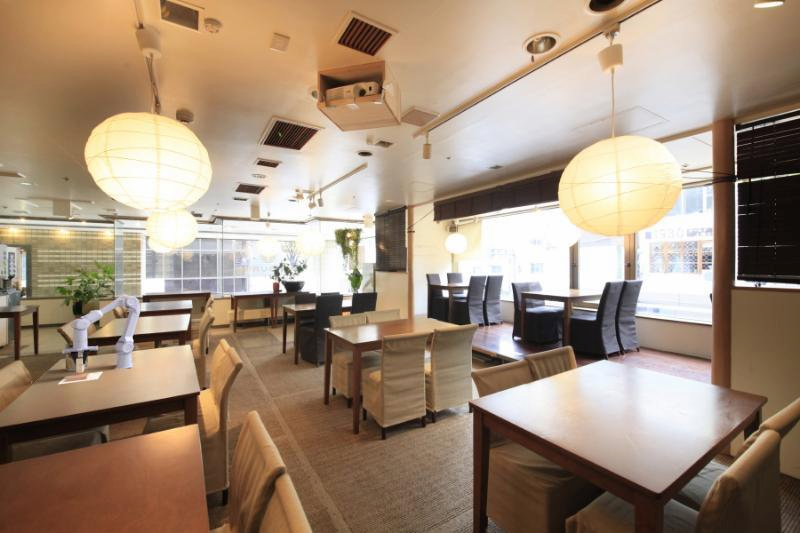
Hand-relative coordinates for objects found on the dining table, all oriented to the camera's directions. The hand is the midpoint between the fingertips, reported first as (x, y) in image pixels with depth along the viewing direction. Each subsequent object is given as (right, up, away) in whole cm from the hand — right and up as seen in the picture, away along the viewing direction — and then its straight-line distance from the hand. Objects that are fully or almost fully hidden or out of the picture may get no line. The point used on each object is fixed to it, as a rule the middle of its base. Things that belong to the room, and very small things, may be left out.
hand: (80, 364), depth 189 cm
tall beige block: (0, -4, +1) cm, 4 cm away
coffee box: (-13, -7, +12) cm, 19 cm away
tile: (+1, -5, -1) cm, 5 cm away
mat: (+2, -8, -2) cm, 8 cm away
